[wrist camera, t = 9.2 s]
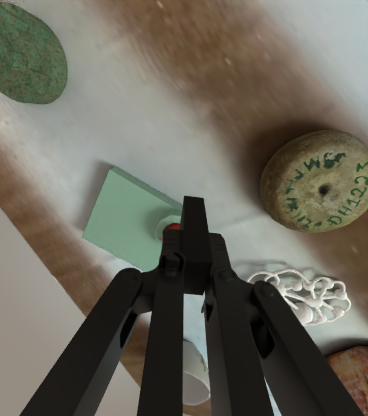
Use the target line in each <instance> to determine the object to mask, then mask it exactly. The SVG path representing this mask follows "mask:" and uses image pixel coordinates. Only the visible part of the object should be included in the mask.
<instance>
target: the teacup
mask: <svg viewBox="0 0 368 416" xmlns="http://www.w3.org/2000/svg"><path fill="white" fill-rule="evenodd" d="M209 397H210V383H209V372H208V368H207V365H206V363H205V360H204V358H203V357H202V355H201V353H200V352H199V351H198V350H197V348H196V347H195V345H194V344H192V343H191V342H188V341H183V403H184V404H186V405H199V404H201V403H202V402H205V401H206V400H207V399H209Z"/></svg>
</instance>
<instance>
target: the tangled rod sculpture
mask: <svg viewBox="0 0 368 416" xmlns="http://www.w3.org/2000/svg"><path fill="white" fill-rule="evenodd" d="M288 271H292V272H295V273H296V274H298V275H299V276H301V277H302V278H303V279H304V280H305V281H304V282H303V287H304V288H305V289H306V290H308V291H310V293H311V295H309V296H305V297H301V296H297V295H294V294H291V293H288V292H286V290H289V289H293V290H295V291H300V290H301V289H302V284H301V282H299V281H298V280H293V281H292V282H291V285H288V286H284V285H283V284H282V283H281V282H280V280H279V277H278V276H277V274H281V273H284V272H288ZM258 274H268V275H267V276H266V277H265V279H264V281H267V279H269V278H270V277H272V276H274V277H275V278H276V279H277V281H271V282H270V283H271V284H272V285H274V286H275V287H276V288H277V289H278V291H279V292H280V294H281V295H282V296H283V298H284V299H285V301H286V302H287V303H288V304H289V305H290V306H292V308H291V310H292V311H293V312H294V314H295V315H296V317H297V318H298V320H299V321H300V323H301V324H302V325H303V326H315V325H318V324H320V323H324V322H332V321H334V320H336V319H337V318H338V317H341V316H343V315H344V312H346V311H348V310H349V309H350V307H351V302H350V300H349V299H348V298H347V293H346V292H345V285H344V283H343V282H342V281H339V280H334V281H332V280H331V279H329V278H327V277H318V278H316V279H314V280H313V281H311V280H308V279H307V278H306V277H305V276H304V275H303V274H301V273H300V272H299V271H297V270H295V269H291V268H288V269H284V270H280V271H277V272H274V273H272V272H268V271H258V272H255V273H253V274H251V275H250V276H249V277H248V279H247V280H246V282H249V281H250V280H251V278H253V277H254V276H256V275H258ZM322 279H323V280H322ZM319 280H322V282H321V283H322V286H323V288H322V290H321V291H320V293H319V295H318V294H315V293H314V288H315V283H316V282H317V281H319ZM334 283H340V284H341V285H342V289H337V290H335V292H334V294H331V295H324V293H325V291H326V290H327V289H331V288H333V286H334ZM285 295H286V296H289V297H292V298H295V299H299V300H302V301H304V302H305V303H306V304H307V305H306V304H304V303H300V302H299V303H295V304H293V303H292V302H291V301H289V300H288V299H287V298H285V297H284V296H285ZM333 298H338V299H340V300H344V299H346V301H347V302H348V306H347V307H346V308H345V309H342V308H341V307H339V306H333V307H332V306H330V305H328V304H327V303H325V302H323V300H324V299H333ZM308 305H309V306H310V307H315V309H316V311H317V312H316V313H315V318H316V320H315V321H312V318H313V313H312V310H311V309H310V307H309V306H308ZM322 305H323V306H325V307H327V308H328V309H330V310H332V313H333V314H334V315H335V316H334V317H333V318H331V319H328V320H326V319H327V318H326V315H325V314H324V313H323V312H321V311H320V309H319V307H321V306H322Z"/></svg>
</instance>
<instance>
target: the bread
mask: <svg viewBox="0 0 368 416" xmlns="http://www.w3.org/2000/svg"><path fill="white" fill-rule="evenodd" d="M325 359H326V360H327V362H328V363H329V365H330V366H331V367H332V369H333V370H334V372H335V373H336V375H337V376H338V378H339V379H340V381H341V382H342V383H343V385H344V386H345V388H346V389H347V391H348V392H349V394H350V395H351V396H352V398H353V399H354V401H355V402H356V404H357V405H358V407H359V408H360V410H361V411H362V412H363V414H364V415H365V416H368V347H365V346H356V347H353V348H351V349H348V350H346V351H341V352H338V353H335V354H333V355H330V356H329V357H327V358H325Z"/></svg>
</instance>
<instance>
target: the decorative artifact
mask: <svg viewBox="0 0 368 416" xmlns="http://www.w3.org/2000/svg"><path fill="white" fill-rule="evenodd" d="M66 80H67V63H66V58H65V54H64V51H63V49H62V46H61V44H60V42H59V40H58V38H57V37H56V35H55V34H54V33H53V31H52V30H51V29H50V28H49V27H48V26H47V25H46V24H45V23H44V22H43V21H42V20H40V19H39V18H37V17H35V16H34V15H32V14H30V13H28V12H26V11H25V10H23V9H21V8H19V7H17V6H15V5H13V4H10V3H5V2H0V91H1V92H2V93H3V94H5V95H6V96H8V97H9V98H11V99H13V100H15V101H18V102H22V103H33V104H48V103H51V102H53V101H54V100H56V99H57V98H58V97H59V96H60V95H61V93H62V92H63V90H64V87H65V85H66Z"/></svg>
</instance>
